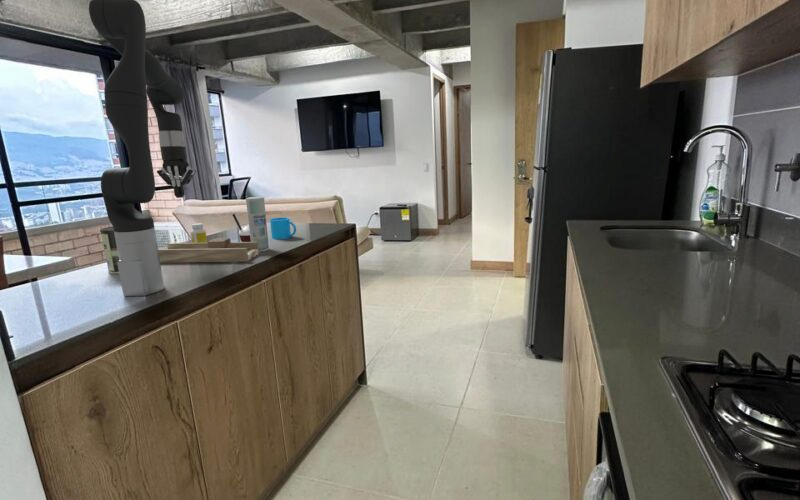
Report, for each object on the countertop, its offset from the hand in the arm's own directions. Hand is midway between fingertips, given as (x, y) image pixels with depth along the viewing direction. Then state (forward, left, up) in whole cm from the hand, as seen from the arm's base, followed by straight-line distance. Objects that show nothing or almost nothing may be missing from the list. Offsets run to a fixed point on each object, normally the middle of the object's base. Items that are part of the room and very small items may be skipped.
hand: (180, 197), depth 144 cm
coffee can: (-12, +14, -22) cm, 29 cm away
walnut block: (+2, -10, -20) cm, 23 cm away
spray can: (+13, -21, -22) cm, 33 cm away
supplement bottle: (+18, +5, -22) cm, 29 cm away
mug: (+37, -23, -22) cm, 49 cm away
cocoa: (+28, -10, -22) cm, 37 cm away
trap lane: (+2, -6, -22) cm, 23 cm away
